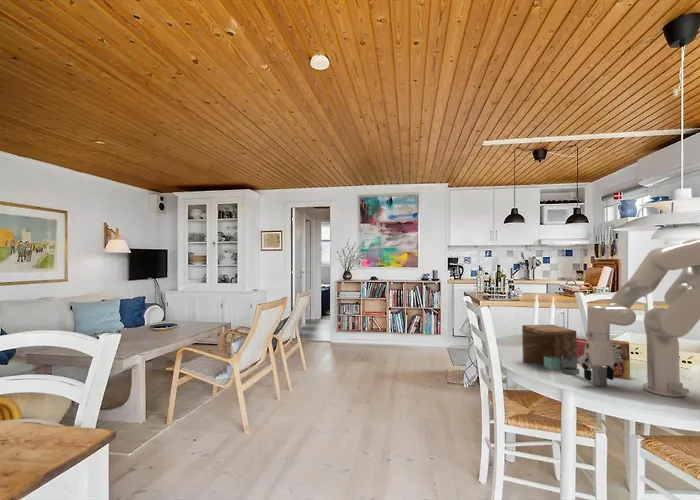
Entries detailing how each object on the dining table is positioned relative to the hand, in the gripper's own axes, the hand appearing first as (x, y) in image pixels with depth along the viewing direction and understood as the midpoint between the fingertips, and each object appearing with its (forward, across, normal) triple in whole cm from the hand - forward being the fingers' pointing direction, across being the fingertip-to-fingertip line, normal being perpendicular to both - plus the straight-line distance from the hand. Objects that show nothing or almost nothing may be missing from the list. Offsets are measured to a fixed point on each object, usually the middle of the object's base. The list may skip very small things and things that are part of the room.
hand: (598, 379), depth 149 cm
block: (+3, -3, +24) cm, 25 cm away
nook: (+3, -2, +28) cm, 28 cm away
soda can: (+3, +19, +32) cm, 37 cm away
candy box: (+3, +17, +10) cm, 20 cm away
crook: (+3, 0, +8) cm, 8 cm away
